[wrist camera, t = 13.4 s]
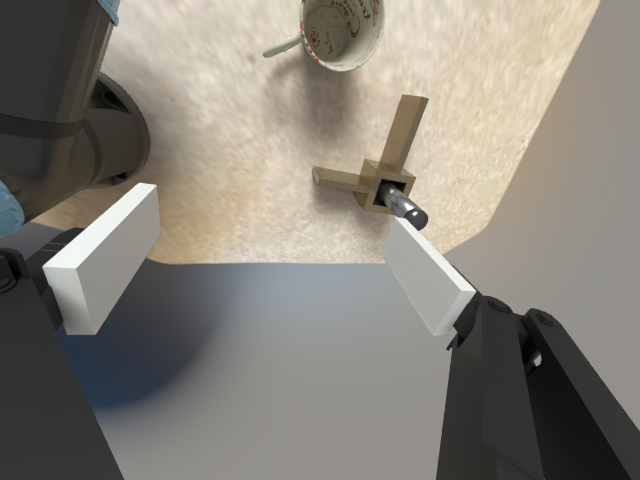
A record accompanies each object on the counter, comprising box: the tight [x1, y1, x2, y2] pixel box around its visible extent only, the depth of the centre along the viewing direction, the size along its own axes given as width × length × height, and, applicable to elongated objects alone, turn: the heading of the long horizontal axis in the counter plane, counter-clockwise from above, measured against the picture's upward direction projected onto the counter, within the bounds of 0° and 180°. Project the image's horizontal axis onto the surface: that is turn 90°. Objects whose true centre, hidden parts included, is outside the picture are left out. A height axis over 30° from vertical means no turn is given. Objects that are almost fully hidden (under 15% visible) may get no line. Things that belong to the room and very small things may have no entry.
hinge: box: [312, 94, 429, 215], centre depth 39 cm, size 14×16×6 cm
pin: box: [376, 179, 428, 231], centre depth 39 cm, size 3×3×15 cm
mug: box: [263, 0, 385, 72], centre depth 30 cm, size 8×13×10 cm, turn 110°
